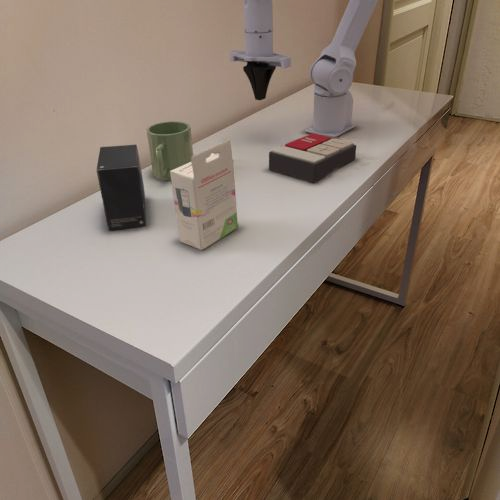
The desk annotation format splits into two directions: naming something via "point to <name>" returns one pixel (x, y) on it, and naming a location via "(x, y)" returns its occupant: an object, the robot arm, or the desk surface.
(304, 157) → the calculator
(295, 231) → the desk surface
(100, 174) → the small box
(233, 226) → the ink box
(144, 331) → the desk surface
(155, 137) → the mug
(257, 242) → the desk surface
